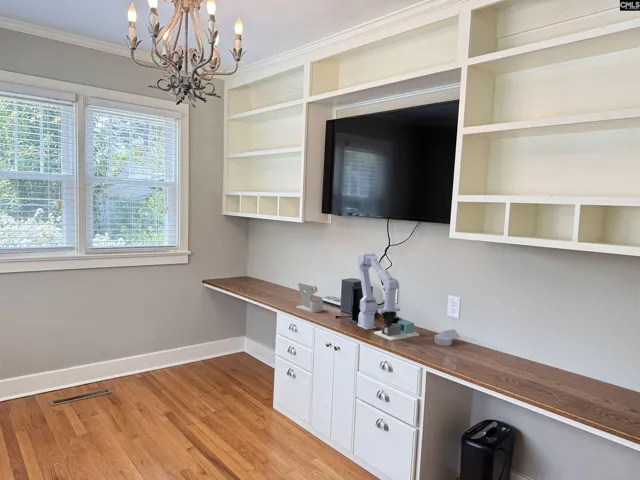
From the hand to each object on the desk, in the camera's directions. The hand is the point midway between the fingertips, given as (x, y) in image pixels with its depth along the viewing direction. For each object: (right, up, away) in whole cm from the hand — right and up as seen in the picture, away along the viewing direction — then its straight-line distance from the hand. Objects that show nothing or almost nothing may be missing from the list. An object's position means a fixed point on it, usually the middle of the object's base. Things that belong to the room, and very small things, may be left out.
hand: (388, 324), depth 248 cm
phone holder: (-45, 0, +51) cm, 68 cm away
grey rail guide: (+2, -6, +2) cm, 6 cm away
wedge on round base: (+31, -9, -5) cm, 32 cm away
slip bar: (+3, -5, +2) cm, 6 cm away
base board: (+6, -6, +5) cm, 10 cm away
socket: (+11, -6, +8) cm, 15 cm away
